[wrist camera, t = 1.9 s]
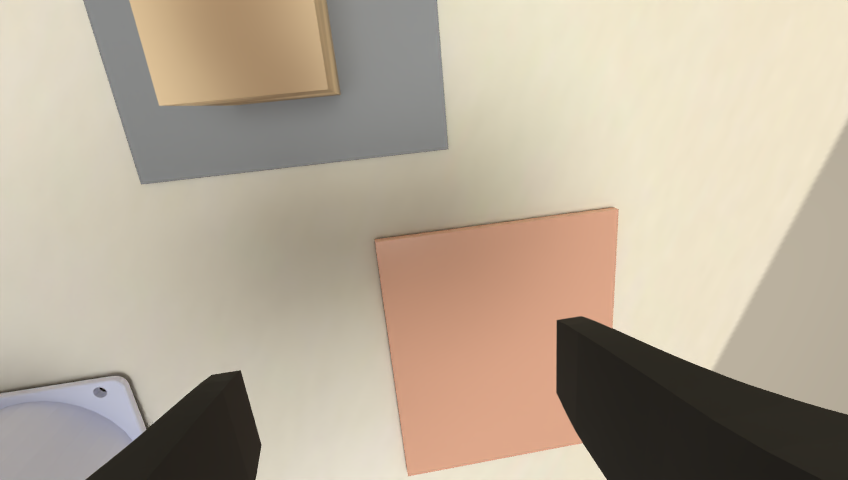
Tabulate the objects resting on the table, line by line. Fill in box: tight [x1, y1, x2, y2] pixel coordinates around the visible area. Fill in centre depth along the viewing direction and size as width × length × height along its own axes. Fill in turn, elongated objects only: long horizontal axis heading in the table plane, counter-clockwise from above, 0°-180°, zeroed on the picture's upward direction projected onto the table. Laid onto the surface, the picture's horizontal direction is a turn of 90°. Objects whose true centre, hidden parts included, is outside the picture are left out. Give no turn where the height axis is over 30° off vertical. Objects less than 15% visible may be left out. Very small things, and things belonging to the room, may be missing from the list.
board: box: [375, 207, 619, 476], centre depth 21 cm, size 11×13×1 cm
